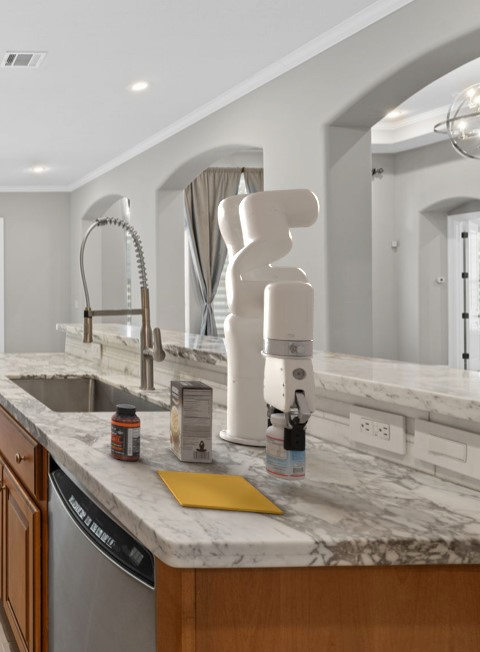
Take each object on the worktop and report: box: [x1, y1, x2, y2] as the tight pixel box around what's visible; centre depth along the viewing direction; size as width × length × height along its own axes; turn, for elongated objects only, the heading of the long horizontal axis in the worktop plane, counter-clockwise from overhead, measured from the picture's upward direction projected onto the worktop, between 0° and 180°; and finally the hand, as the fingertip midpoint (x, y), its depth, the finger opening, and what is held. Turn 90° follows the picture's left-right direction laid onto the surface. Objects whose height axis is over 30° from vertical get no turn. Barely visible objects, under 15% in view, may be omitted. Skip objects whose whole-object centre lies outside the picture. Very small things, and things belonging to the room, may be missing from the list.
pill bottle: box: [265, 413, 307, 482], centre depth 101 cm, size 6×6×11 cm
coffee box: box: [169, 380, 214, 464], centre depth 119 cm, size 9×6×16 cm
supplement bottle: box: [110, 403, 141, 462], centre depth 118 cm, size 6×6×11 cm
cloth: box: [156, 469, 284, 515], centre depth 98 cm, size 18×15×1 cm
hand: (285, 443), depth 101 cm, fingers closed on pill bottle, 6 cm apart
